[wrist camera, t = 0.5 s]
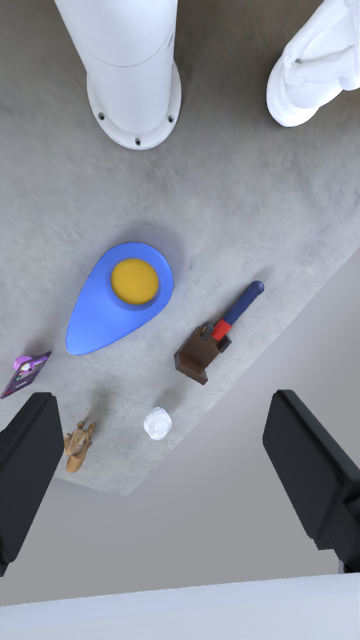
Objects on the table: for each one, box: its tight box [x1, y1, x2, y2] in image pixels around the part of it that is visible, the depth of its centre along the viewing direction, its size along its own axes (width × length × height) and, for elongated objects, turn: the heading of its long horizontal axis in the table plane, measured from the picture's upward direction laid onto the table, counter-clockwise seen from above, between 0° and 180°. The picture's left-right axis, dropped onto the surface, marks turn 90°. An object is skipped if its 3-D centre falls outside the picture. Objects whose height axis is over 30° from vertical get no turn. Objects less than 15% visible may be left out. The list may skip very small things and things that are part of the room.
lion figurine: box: [63, 423, 95, 473], centre depth 49 cm, size 15×5×9 cm, turn 170°
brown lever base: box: [174, 321, 232, 385], centre depth 45 cm, size 10×7×5 cm
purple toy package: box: [0, 351, 51, 399], centre depth 43 cm, size 7×5×9 cm
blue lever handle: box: [211, 281, 264, 341], centre depth 43 cm, size 14×3×3 cm, turn 143°
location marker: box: [66, 242, 173, 355], centre depth 41 cm, size 13×3×25 cm
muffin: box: [144, 407, 172, 440], centre depth 49 cm, size 6×6×7 cm
